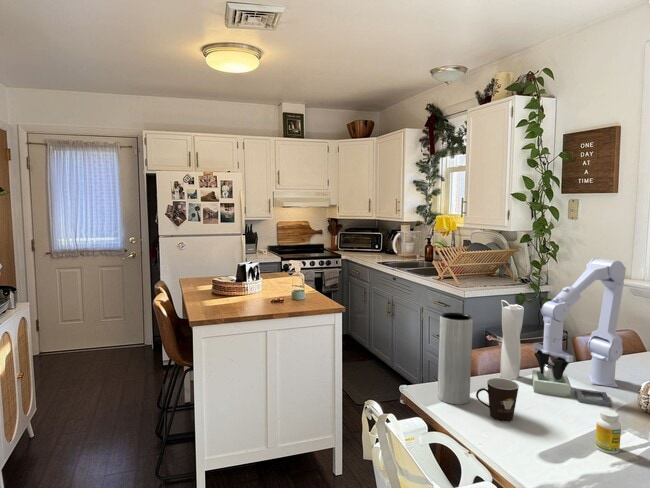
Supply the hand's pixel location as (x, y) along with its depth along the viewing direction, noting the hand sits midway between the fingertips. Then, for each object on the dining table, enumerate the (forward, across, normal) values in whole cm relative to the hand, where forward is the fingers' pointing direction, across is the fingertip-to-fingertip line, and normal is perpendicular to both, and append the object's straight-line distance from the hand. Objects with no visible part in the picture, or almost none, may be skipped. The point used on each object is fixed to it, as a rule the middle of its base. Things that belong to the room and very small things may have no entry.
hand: (550, 376), depth 157 cm
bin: (+4, 0, 0) cm, 4 cm away
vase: (+5, -6, -36) cm, 37 cm away
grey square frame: (+4, +11, +6) cm, 13 cm away
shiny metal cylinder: (+3, 0, 0) cm, 3 cm away
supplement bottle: (+5, +34, -20) cm, 40 cm away
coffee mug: (+5, +8, -32) cm, 34 cm away
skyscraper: (+5, -14, -4) cm, 15 cm away
